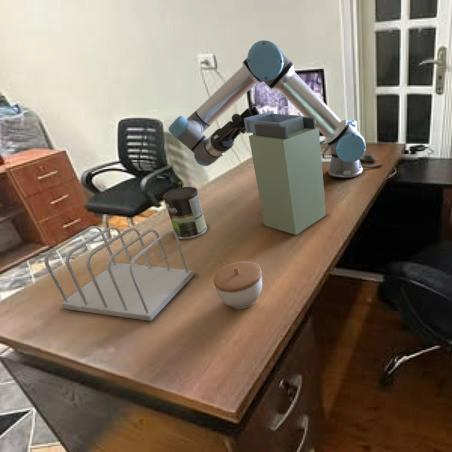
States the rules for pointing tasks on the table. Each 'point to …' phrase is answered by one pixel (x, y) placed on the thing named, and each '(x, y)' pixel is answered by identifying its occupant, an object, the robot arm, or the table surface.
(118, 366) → the table surface
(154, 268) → the file sorter
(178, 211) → the coffee can
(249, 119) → the grey drawer
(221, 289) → the trinket box
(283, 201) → the stand
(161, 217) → the table surface
